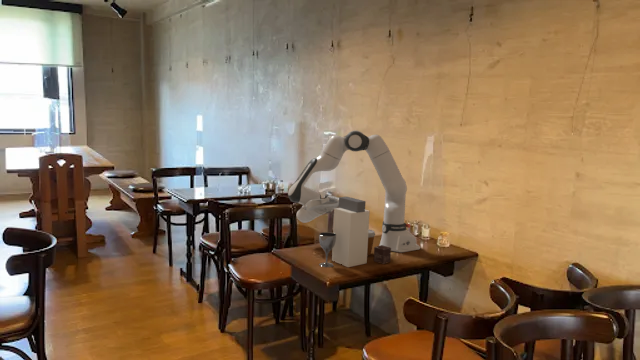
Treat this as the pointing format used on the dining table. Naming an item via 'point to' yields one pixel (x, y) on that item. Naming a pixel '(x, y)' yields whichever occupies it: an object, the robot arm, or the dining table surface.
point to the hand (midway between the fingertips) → (332, 198)
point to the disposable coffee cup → (370, 241)
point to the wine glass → (327, 245)
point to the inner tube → (333, 199)
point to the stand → (350, 232)
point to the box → (382, 254)
